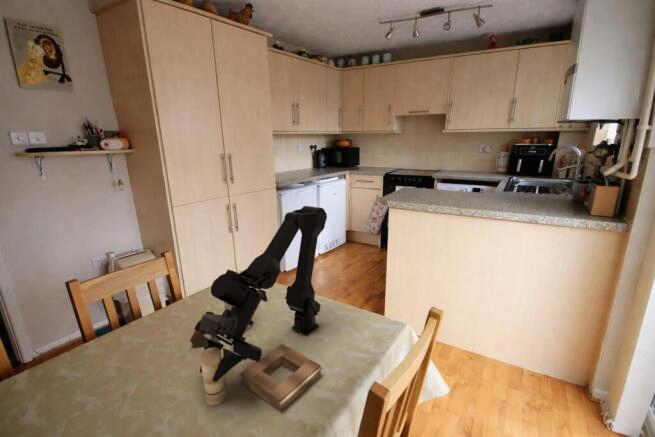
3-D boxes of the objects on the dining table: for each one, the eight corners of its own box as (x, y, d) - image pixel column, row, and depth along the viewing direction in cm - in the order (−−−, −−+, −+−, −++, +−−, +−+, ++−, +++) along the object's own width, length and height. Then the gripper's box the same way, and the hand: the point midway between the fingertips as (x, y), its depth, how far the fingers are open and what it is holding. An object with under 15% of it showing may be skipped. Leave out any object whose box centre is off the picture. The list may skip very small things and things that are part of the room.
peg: (219, 387, 76) (213, 344, 73) (230, 396, 73) (225, 352, 70) (202, 399, 72) (195, 355, 69) (212, 409, 70) (206, 363, 67)
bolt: (213, 324, 106) (204, 351, 91) (199, 319, 105) (187, 345, 90) (220, 309, 105) (212, 334, 91) (206, 304, 104) (196, 328, 90)
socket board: (281, 352, 88) (281, 342, 87) (322, 375, 79) (322, 365, 78) (239, 382, 77) (238, 372, 76) (281, 413, 68) (281, 402, 67)
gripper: (196, 289, 75) (157, 353, 69) (248, 312, 65) (207, 390, 59) (226, 305, 84) (194, 363, 77) (276, 327, 73) (243, 397, 67)
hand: (207, 377), depth 70 cm, fingers closed on peg, 4 cm apart
